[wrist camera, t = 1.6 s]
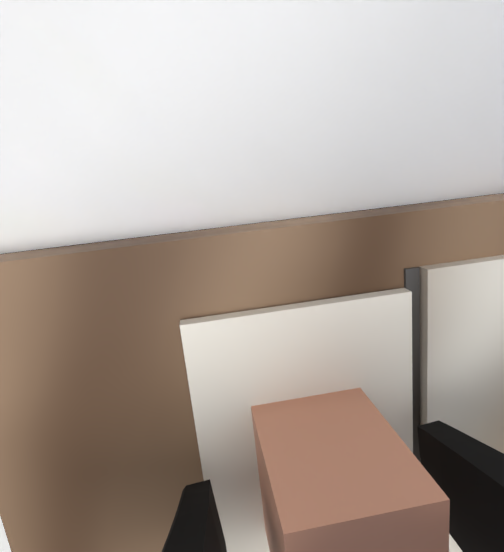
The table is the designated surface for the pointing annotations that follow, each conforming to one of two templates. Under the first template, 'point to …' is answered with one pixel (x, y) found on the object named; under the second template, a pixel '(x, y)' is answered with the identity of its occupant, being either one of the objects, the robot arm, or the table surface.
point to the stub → (313, 427)
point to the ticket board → (171, 363)
